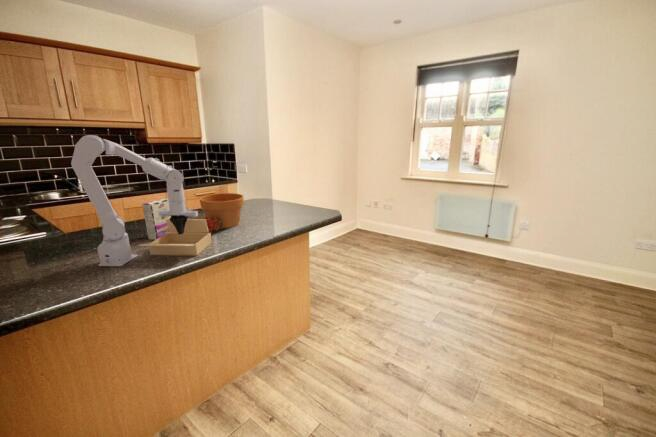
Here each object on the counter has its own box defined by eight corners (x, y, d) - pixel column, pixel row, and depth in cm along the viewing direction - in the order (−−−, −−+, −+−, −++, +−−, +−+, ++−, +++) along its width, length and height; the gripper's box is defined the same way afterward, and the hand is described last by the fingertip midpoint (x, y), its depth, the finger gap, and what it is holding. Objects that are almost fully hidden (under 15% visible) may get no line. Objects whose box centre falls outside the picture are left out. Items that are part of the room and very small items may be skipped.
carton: (197, 255, 110) (195, 244, 109) (150, 255, 110) (148, 244, 108) (211, 242, 123) (210, 232, 122) (169, 242, 123) (168, 232, 122)
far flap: (169, 231, 122) (170, 231, 122) (208, 232, 122) (208, 231, 122) (165, 219, 118) (166, 218, 119) (205, 219, 118) (205, 219, 119)
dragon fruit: (225, 233, 141) (200, 241, 134) (218, 220, 144) (194, 228, 138) (226, 222, 135) (199, 230, 128) (218, 209, 138) (192, 217, 131)
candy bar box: (166, 232, 137) (161, 198, 132) (175, 232, 136) (170, 198, 131) (147, 239, 126) (141, 203, 122) (157, 240, 125) (151, 204, 121)
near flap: (193, 244, 108) (193, 245, 108) (150, 243, 108) (150, 245, 108) (185, 245, 102) (185, 246, 102) (139, 244, 102) (139, 245, 102)
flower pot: (237, 231, 139) (235, 201, 135) (194, 230, 139) (191, 200, 135) (250, 219, 159) (248, 193, 155) (212, 218, 160) (210, 192, 156)
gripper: (199, 198, 115) (203, 230, 119) (163, 198, 115) (168, 230, 119) (191, 202, 108) (195, 236, 112) (153, 201, 108) (158, 235, 112)
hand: (181, 233), depth 115 cm, fingers closed
